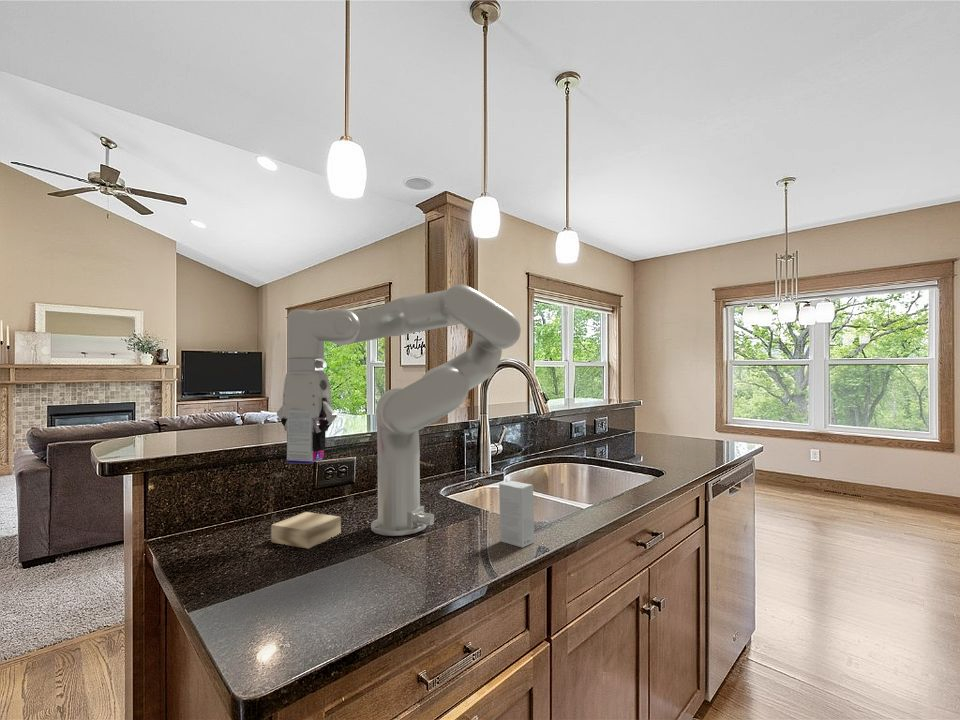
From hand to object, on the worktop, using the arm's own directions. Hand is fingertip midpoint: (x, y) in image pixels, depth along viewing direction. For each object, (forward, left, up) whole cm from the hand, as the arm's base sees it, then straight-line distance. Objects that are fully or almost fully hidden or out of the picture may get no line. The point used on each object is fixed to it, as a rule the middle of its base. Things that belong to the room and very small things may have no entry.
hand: (306, 449), depth 106 cm
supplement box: (0, 0, -3) cm, 3 cm away
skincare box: (-43, -14, -19) cm, 49 cm away
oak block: (0, 0, -19) cm, 19 cm away
